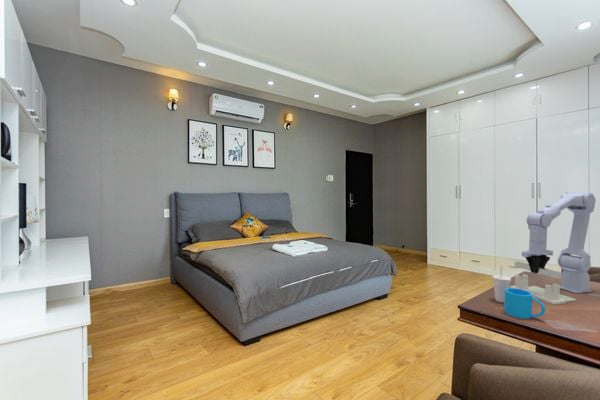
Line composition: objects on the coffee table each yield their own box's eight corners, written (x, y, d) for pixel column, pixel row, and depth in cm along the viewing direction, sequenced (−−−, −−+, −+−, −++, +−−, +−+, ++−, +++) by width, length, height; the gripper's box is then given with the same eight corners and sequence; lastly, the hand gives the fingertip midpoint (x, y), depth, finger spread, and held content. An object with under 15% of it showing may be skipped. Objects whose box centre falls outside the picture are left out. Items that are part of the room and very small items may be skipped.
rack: (520, 287, 136) (520, 273, 136) (565, 303, 118) (566, 286, 117) (509, 288, 135) (510, 273, 134) (554, 304, 116) (554, 287, 116)
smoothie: (504, 298, 123) (505, 265, 122) (514, 304, 117) (515, 269, 116) (488, 297, 124) (489, 264, 123) (497, 303, 117) (498, 269, 117)
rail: (518, 266, 135) (519, 261, 135) (561, 278, 117) (562, 272, 117) (514, 266, 134) (514, 261, 134) (557, 278, 117) (557, 273, 117)
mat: (535, 286, 137) (535, 285, 137) (576, 300, 120) (576, 299, 120) (523, 287, 135) (523, 287, 135) (563, 302, 119) (563, 301, 119)
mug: (500, 312, 109) (501, 291, 108) (508, 307, 114) (509, 286, 113) (541, 324, 99) (542, 301, 99) (548, 318, 104) (549, 295, 104)
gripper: (533, 243, 120) (532, 276, 120) (561, 242, 123) (559, 274, 124) (517, 240, 126) (516, 271, 127) (543, 239, 130) (542, 269, 130)
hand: (536, 272), depth 126 cm, fingers closed on rail, 2 cm apart
